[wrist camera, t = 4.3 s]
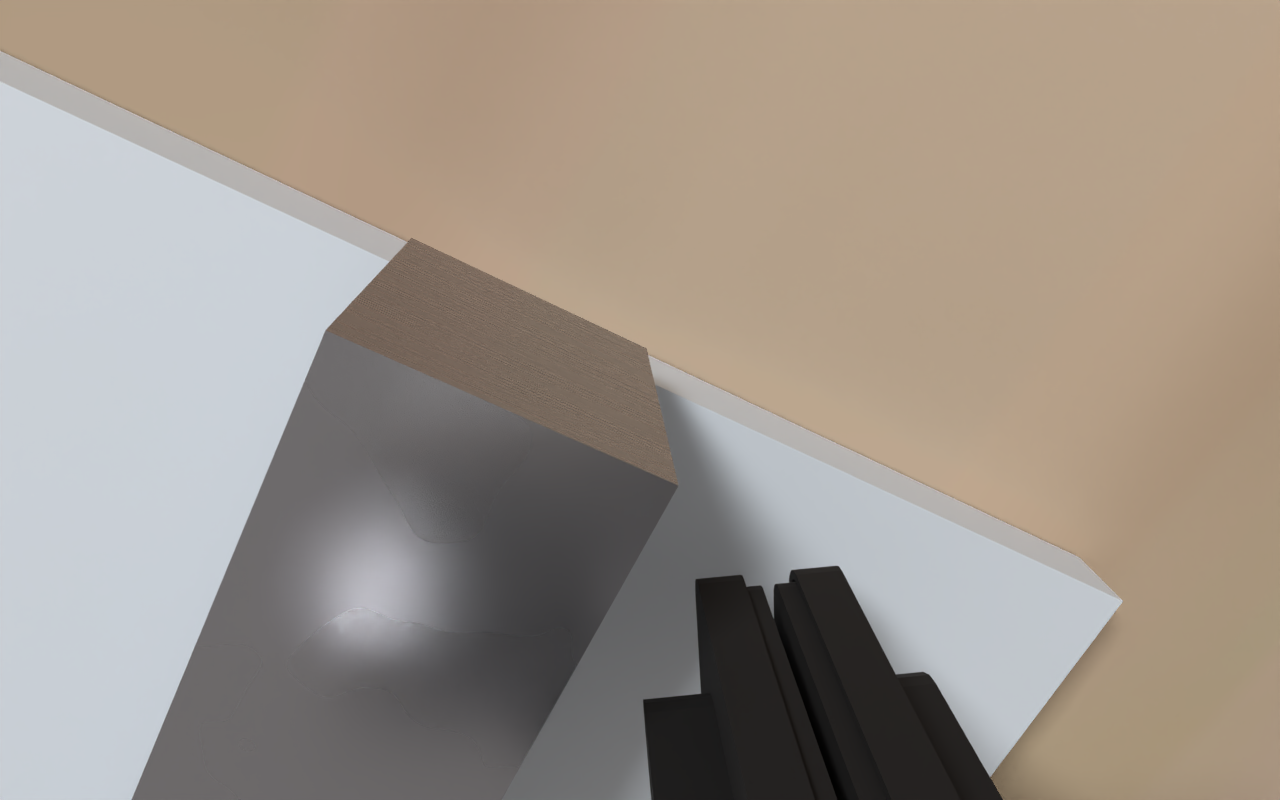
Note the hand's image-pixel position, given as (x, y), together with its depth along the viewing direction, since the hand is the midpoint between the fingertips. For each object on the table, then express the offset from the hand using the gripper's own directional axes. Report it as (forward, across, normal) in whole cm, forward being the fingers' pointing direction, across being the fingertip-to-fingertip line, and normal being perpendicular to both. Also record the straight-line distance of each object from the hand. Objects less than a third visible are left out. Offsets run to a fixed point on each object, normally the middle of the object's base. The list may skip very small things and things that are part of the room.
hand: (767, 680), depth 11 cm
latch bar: (+1, +7, +3) cm, 8 cm away
